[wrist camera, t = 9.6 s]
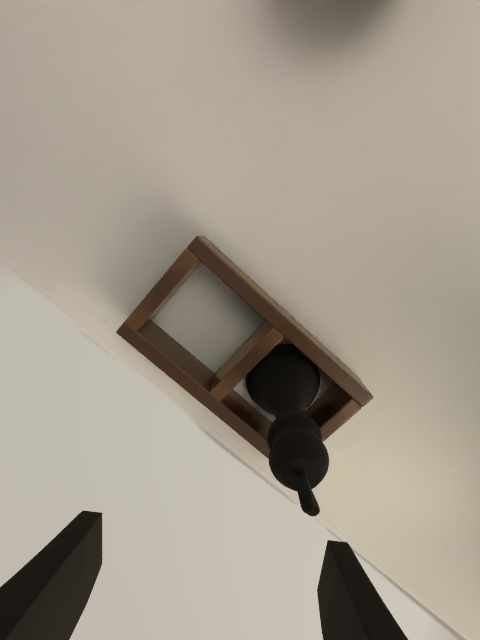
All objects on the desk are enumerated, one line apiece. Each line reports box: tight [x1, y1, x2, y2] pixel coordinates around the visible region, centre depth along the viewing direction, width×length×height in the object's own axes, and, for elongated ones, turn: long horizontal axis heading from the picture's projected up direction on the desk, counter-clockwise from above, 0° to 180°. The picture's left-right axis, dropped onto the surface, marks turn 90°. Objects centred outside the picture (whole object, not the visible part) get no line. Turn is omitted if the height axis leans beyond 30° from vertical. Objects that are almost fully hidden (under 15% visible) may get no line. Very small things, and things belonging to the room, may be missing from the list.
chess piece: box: [246, 345, 329, 516], centre depth 15 cm, size 4×4×10 cm
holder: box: [116, 236, 373, 459], centre depth 18 cm, size 7×12×2 cm, turn 48°
